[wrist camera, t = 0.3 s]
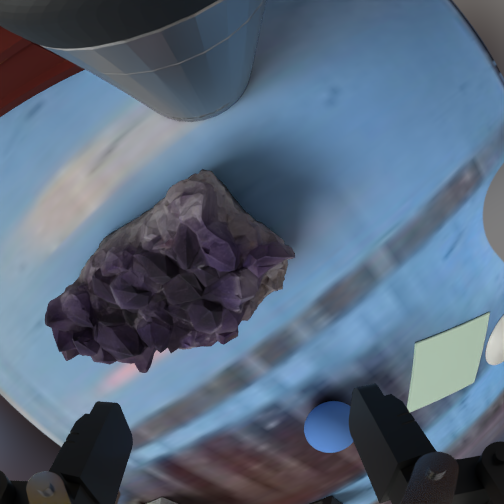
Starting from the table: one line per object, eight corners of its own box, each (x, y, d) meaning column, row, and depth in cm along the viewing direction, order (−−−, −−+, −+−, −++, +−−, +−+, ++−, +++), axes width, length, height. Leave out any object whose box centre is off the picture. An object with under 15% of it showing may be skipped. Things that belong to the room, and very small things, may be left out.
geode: (126, 365, 29) (82, 423, 19) (66, 270, 27) (-1, 300, 17) (307, 274, 26) (330, 321, 16) (239, 153, 25) (221, 129, 15)
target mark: (414, 342, 30) (415, 343, 30) (488, 312, 30) (489, 312, 30) (405, 412, 33) (406, 413, 33) (473, 381, 33) (474, 382, 33)
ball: (297, 398, 31) (307, 438, 25) (350, 384, 31) (367, 421, 25) (302, 430, 32) (311, 468, 27) (350, 417, 32) (365, 453, 27)
